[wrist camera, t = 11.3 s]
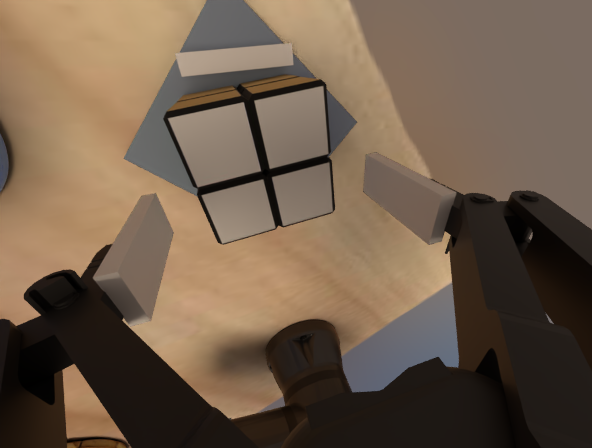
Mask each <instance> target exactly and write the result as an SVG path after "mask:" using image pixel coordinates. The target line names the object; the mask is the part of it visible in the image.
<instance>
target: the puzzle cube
mask: <svg viewBox="0 0 592 448" xmlns="http://www.w3.org/2000/svg"><path fill="white" fill-rule="evenodd" d="M163 120H164V122H165V124H166V127H167V129H168V131H169V133H170V136H171V138H172V140H173V142H174V145H175V147H176V149H177V151H178V154H179V156H180V158H181V160H182V163H183V165H184V167H185V169H186V172H187V174H188V176H189V178H190V181H191V183H192V185H193V187H195V188H197V189H198V190H197V196H198V199H199V201H200V203H201V205H202V208H203V210H204V212H205V214H206V217H207V219H208V221H209V223H210V226H211V228H212V230H213V232H214V235H215V237H216V239H217V241H218V243H220V244H223V245H224V244H227V243H231V242H234V241H238V240H241V239H244V238H248V237H251V236H255V235H258V234H262V233H265V232H268V231H272V230H275V229H276V228H277V227H278V225H279V226H281V227H286V226H290V225H293V224H296V223H300V222H303V221H307V220H310V219H314V218H317V217H320V216H324V215H327V214H331V213H333V211H334V210H335V201H334V187H333V173H332V160H331V159H330V158H328V155H329V154H330V153H331V145H330V131H329V117H328V103H327V89H326V84H325V83H324V82H323V81H322V80H321V79H314V78H307V77H299V76H295V75H287V74H284V75H280V76H275V77H270V78H265V79H260V80H255V81H251V82H246V83H241V84H239V85H238V87H237V88H235V87H234V86H232V85H231V86H226V87H221V88H217V89H212V90H207V91H202V92H197V93H192V94H187V95H183V96H182V97H181V98H180V99H179V100H178V101H177V102H176V103H175V104H174V105H173V106H172V107H171V108H170V109H168V110H167V111H166V113H165V115H164V118H163Z"/></svg>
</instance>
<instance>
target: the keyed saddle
mask: <svg viewBox="0 0 592 448" xmlns="http://www.w3.org/2000/svg"><path fill="white" fill-rule="evenodd" d="M175 56H176V60H175V62H174V64H173V66H172V68H171V70H170V72H169V73H168V75H167V77H166V79H165V81H164V83H163V85H162V87H161V89H160V90H159V92H158V94H157V96H156V98H155V100H154V102H153V104H152V106H151V108H150V109H149V111H148V113H147V115H146V117H145V119H144V121H143V123H142V125H141V126H140V128H139V130H138V132H137V134H136V136H135V138H134V140H133V142H132V144H131V145H130V147H129V149H128V151H127V153H126V155H125V157H124V159H125V160H127V161H129V162H131V163H133V164H135V165H137V166H139V167H141V168H143V169H145V170H147V171H149V172H151V173H153V174H155V175H157V176H159V177H160V178H162V179H164V180H166V181H168V182H170V183H172V184H174V185H176V186H178V187H180V188H182V189H184V190H186V191H188V192H190V193H192V194H194V195H196V196H197V190H198V189H197V188H195V187H193V185H192V183H191V181H190V178H189V176H188V174H187V172H186V169H185V167H184V165H183V163H182V160H181V158H180V156H179V154H178V151H177V149H176V147H175V145H174V142H173V140H172V138H171V136H170V133H169V131H168V129H167V127H166V124H165V122H164V120H163V118H164V115H165V113H166V111H167V110H168V109H170V108H171V107H172V106H173V105H174V104H175V103H176V102H177V101H178V100H179V99H180V98H181V97H182V96H183V95H187V94H192V93H197V92H202V91H207V90H212V89H217V88H221V87H226V86H231V85H232V86H234V87H235V88H237V87H238V85H239V84H241V83H246V82H251V81H255V80H260V79H265V78H270V77H275V76H280V75H284V74H287V75H295V76H299V77H307V78H314V79H316V78H315V76H314V75H313V74H312V73H311V72H310V71H309V70H308V69H307V68H306V67H305V66H304V65H303V64H302V63H301V62H300V60H299V59H298V58H297V57H296V56H295V55H294V54H293V51H292V43H285V44H284V43H283V42H282V41H281V40H280V39H279V38H278V37H277V36H276V35H275V34H274V33H273V32H272V30H271V29H270V28H269V27H268V26H267V25H266V24H265V23H264V22H263V21H262V20H261V19H260V18H259V17H258V15H257V14H256V13H255V12H254V11H253V10H252V9H251V8H250V7H249V6H248V5H247V4H246V3H245V2H244V0H207V1H206V3H205V5H204V7H203V9H202V11H201V13H200V15H199V17H198V18H197V20H196V22H195V24H194V26H193V28H192V30H191V32H190V34H189V36H188V37H187V39H186V41H185V43H184V45H183V47H182V49H181V51H180V53H175ZM327 103H328V117H329V131H330V145H331V153H330V154H329V155H328V157H329V156H330V155H331V154H332V152H333V151H334V150H335V149H336V147H337V146H338V145H339V144H340V142H341V141H342V140H343V139H344V138H345V136H346V135H347V134H348V133H349V131H350V130H351V129H352V128H353V126H354V125H355V124H356V123H357V121H356V120H355V119H354V118H353V117H352V116H351V115H350V114H349V113H348V112H347V111H346V110H345V109H344V108H343V106H342V105H341V104H340V103H339V102H338V101H337V100H336V99H335V98H334V97H333V96H332V95H331V94H330V93H329V91H328V90H327Z"/></svg>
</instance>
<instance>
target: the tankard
mask: <svg viewBox="0 0 592 448" xmlns="http://www.w3.org/2000/svg"><path fill="white" fill-rule="evenodd" d="M67 448H126V445H125V444H124V443H121V442H118V441H113V440H106V439H95V440H85V441H76V442H70V443H67Z"/></svg>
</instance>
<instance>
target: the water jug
mask: <svg viewBox="0 0 592 448" xmlns="http://www.w3.org/2000/svg"><path fill="white" fill-rule="evenodd" d="M8 169H9V161H8V154H7V149H6V146H5V143H4V140H3V138H2V136H1V134H0V192H1V190H2V189H3V187H4V185H5V182H6V180H7V176H8Z"/></svg>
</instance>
